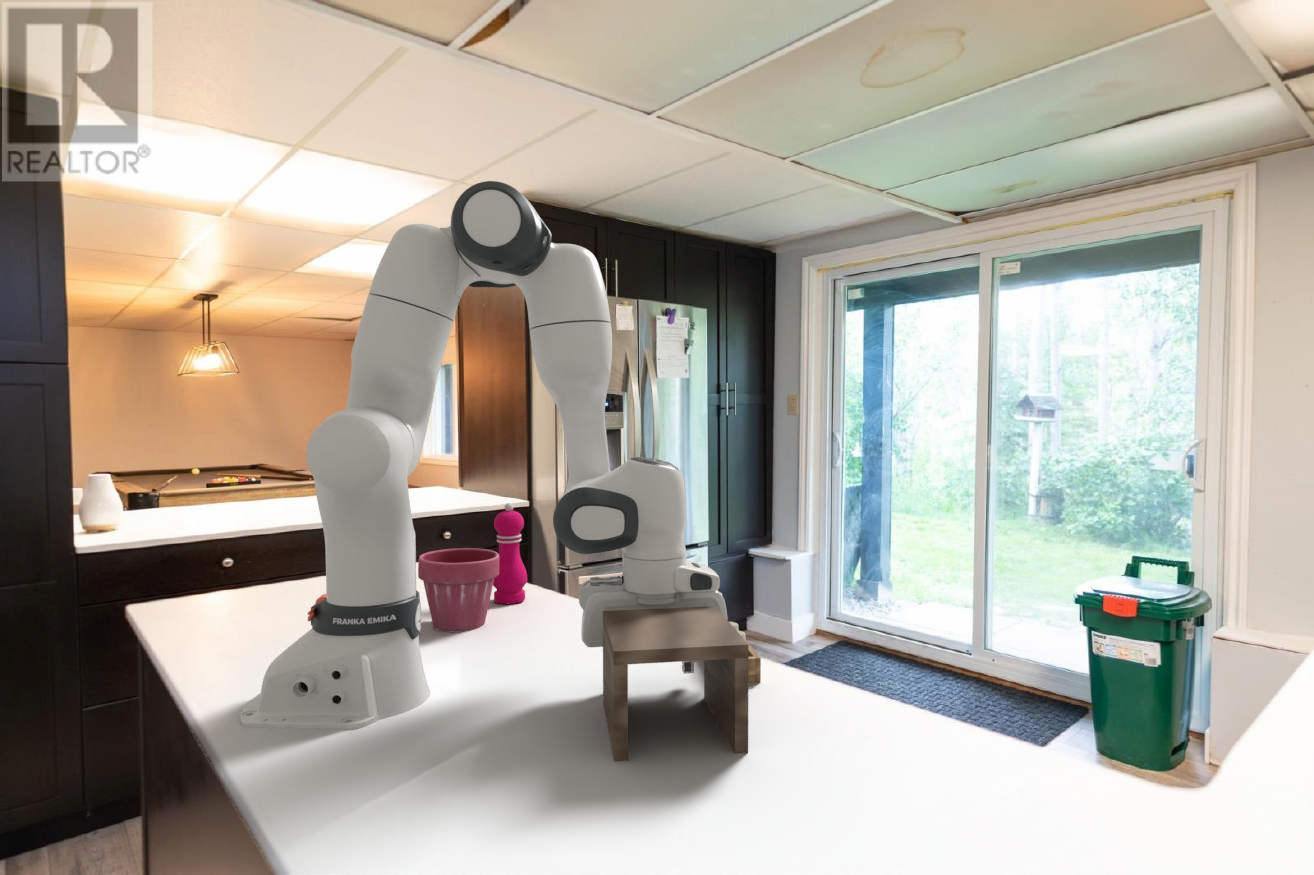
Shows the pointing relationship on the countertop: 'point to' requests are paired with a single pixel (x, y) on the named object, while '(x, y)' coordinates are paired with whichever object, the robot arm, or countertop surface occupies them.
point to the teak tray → (751, 660)
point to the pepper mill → (509, 558)
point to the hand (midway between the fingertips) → (654, 674)
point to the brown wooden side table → (676, 641)
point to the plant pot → (458, 586)
